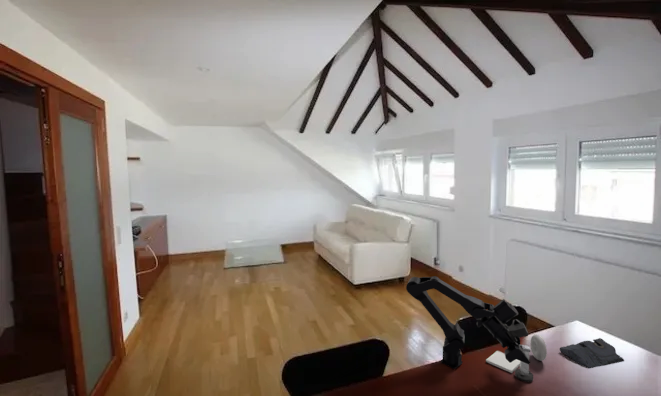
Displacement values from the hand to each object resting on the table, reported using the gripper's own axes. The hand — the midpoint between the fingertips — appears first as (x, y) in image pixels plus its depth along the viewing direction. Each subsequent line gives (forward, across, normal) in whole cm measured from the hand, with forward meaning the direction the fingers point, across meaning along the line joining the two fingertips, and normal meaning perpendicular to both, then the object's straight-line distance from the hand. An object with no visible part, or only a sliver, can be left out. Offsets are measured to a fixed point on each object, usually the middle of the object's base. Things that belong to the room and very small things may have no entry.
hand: (528, 361), depth 124 cm
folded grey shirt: (+24, +26, -13) cm, 38 cm away
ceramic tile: (-1, +8, +10) cm, 13 cm away
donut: (+9, +16, +1) cm, 18 cm away
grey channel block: (+4, 0, +6) cm, 7 cm away
